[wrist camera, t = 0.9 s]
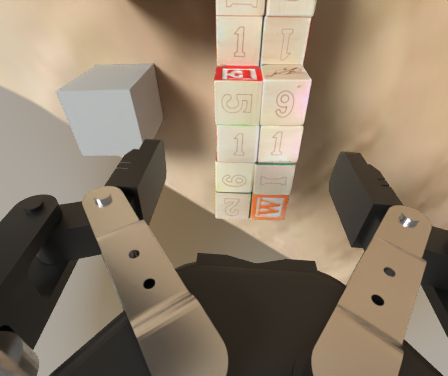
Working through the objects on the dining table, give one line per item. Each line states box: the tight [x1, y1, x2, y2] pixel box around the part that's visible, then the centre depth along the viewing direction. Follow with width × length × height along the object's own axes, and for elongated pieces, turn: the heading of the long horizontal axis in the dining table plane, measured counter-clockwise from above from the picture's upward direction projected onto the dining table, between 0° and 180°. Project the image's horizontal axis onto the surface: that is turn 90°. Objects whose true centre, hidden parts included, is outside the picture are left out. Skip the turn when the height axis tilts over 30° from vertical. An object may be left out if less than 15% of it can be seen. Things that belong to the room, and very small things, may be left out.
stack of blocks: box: [214, 0, 317, 220], centre depth 22 cm, size 21×6×12 cm, turn 179°
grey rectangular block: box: [56, 63, 164, 156], centre depth 26 cm, size 6×6×8 cm
